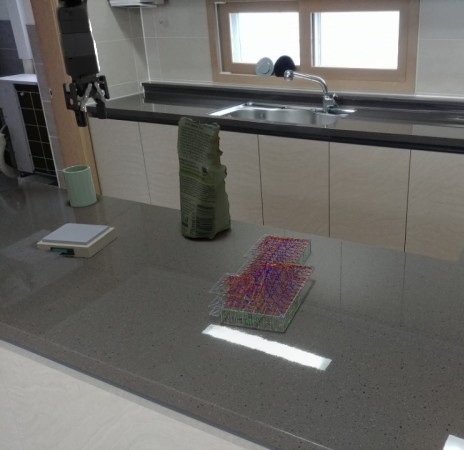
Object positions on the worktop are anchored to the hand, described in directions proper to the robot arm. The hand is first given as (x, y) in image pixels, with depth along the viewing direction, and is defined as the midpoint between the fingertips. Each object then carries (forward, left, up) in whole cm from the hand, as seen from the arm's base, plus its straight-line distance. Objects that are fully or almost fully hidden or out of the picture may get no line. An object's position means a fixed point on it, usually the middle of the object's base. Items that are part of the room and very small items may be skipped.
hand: (93, 122), depth 131 cm
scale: (+9, -26, -20) cm, 34 cm away
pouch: (+34, -15, -21) cm, 43 cm away
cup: (-4, -5, -20) cm, 21 cm away
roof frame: (+54, -35, -21) cm, 68 cm away
